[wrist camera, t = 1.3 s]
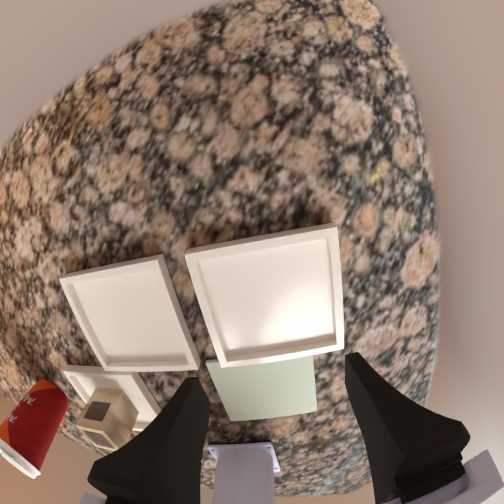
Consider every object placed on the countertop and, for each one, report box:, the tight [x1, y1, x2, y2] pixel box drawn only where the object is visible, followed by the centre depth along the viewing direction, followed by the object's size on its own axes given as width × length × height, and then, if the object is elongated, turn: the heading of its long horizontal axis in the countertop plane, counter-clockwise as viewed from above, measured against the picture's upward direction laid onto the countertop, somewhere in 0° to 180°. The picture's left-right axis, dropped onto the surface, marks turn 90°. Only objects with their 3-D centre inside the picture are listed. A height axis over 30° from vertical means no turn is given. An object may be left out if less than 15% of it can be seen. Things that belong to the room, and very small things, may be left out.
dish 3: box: [184, 223, 344, 368], centre depth 19 cm, size 10×10×1 cm
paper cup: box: [0, 379, 69, 479], centre depth 20 cm, size 8×8×14 cm
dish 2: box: [63, 365, 162, 431], centre depth 24 cm, size 10×10×1 cm
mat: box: [206, 355, 317, 421], centre depth 23 cm, size 9×9×1 cm
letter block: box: [75, 388, 139, 451], centre depth 22 cm, size 4×4×6 cm
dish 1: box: [59, 254, 201, 372], centre depth 20 cm, size 10×10×1 cm
